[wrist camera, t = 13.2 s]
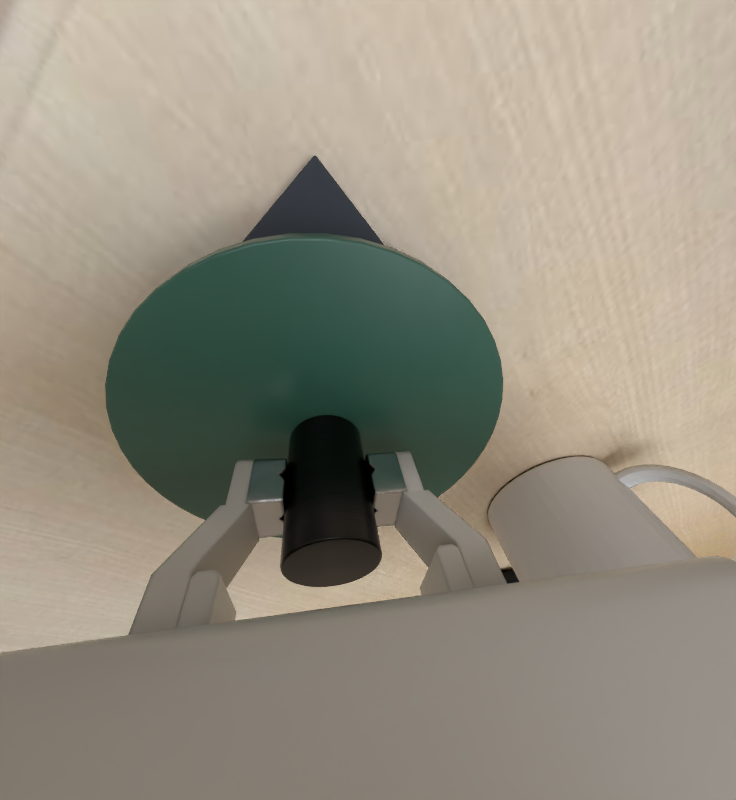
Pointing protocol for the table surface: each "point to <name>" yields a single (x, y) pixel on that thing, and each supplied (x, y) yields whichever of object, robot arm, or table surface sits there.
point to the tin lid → (304, 385)
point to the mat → (314, 209)
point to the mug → (588, 518)
